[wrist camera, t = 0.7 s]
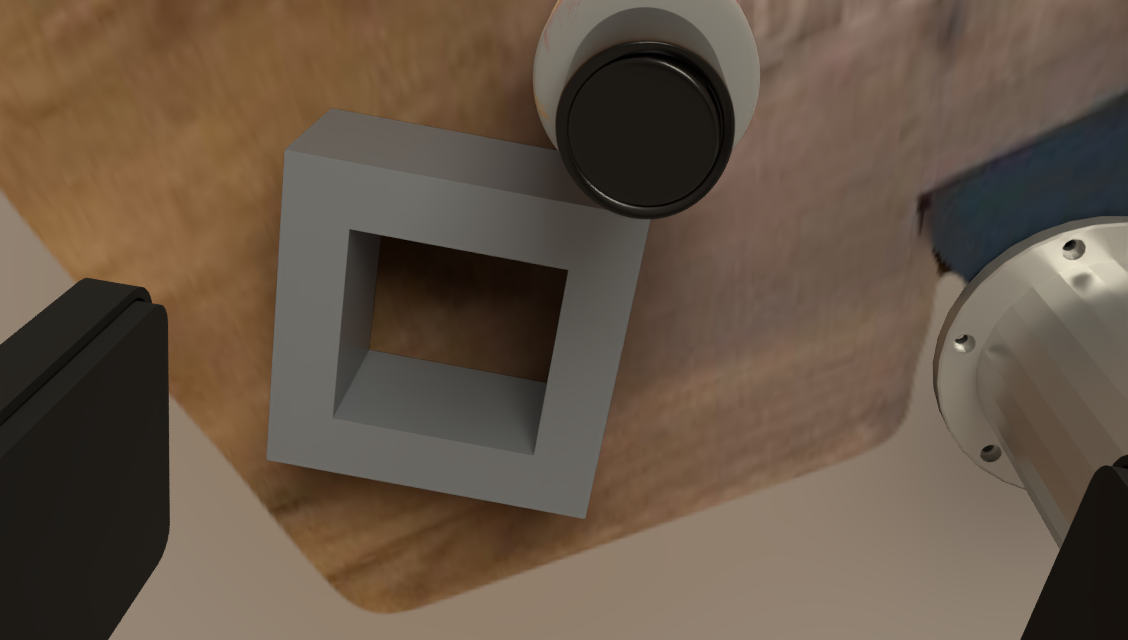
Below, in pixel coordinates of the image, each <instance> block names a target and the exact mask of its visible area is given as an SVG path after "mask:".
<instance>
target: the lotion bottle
mask: <svg viewBox="0 0 1128 640" xmlns="http://www.w3.org/2000/svg"><path fill="white" fill-rule="evenodd" d="M759 84H760V68H759V58H758V52H757V48H756V44H755V41H754V37H753V34H752V32H751V29H750V27H749V24H748V22H747V19H746V17H745V15H744V13H743V11H742V9H741V7H740V5H739V3H738V1H737V0H558V1H557V3H556V5H555V7H554V9H553V10H552V12H551V14H550V17H549V19H548V21H547V23H546V25H545V27H544V29H543V32H542V34H541V37H540V40H539V43H538V46H537V50H536V54H535V60H534V66H533V91H534V98H535V103H536V107H537V111H538V114H539V117H540V120H541V122H542V125H543V127H544V129H545V131H546V133H547V135H548V137H549V138H550V140H551V142H552V143H553V144H554V146H555V147H556V149H557V150H558V151H559V153H560V156H561V159H562V162H563V164H564V166H565V168H566V170H567V172H568V173H569V175H570V177H571V178H572V180H573V181H574V182H575V184H576V185H577V186H578V187H579V188H580V189H581V191H582V192H583V193H584V194H585V195H587V196H588V197H589V198H590V199H591V200H592V201H594V202H595V203H597V204H598V205H600V206H601V207H603V208H605V209H606V210H609V211H611V212H613V213H615V214H618V215H621V216H624V217H629V218H634V219H659V218H664V217H668V216H671V215H674V214H677V213H679V212H682V211H684V210H686V209H687V208H689V207H691V206H692V205H694V204H695V203H697V202H698V201H699V200H701V199H702V198H703V197H704V196H705V195H706V194H707V193H708V192H709V191H710V190H711V189H712V188H713V186H714V185H715V184H716V183H717V181H718V180H719V178H720V177H721V175H722V173H723V171H724V170H725V168H726V165H727V163H728V161H729V158H730V155H731V152H732V150H733V149H734V148H735V146H736V145H737V144H738V142H739V141H740V139H741V138H742V136H743V134H744V133H745V131H746V129H747V127H748V125H749V122H750V120H751V118H752V115H753V112H754V109H755V106H756V102H757V98H758V92H759Z"/></svg>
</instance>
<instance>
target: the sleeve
mask: <svg viewBox="0 0 1128 640" xmlns="http://www.w3.org/2000/svg"><path fill="white" fill-rule="evenodd" d="M650 220H651V219H634V218H629V217H624V216H621V215H618V214H615V213H613V212H611V211H609V210H606V209H605V208H603V207H601V206H600V205H598V204H597V203H595V202H594V201H592V200H591V199H590V198H589V197H588V196H587V195H585V194H584V193H583V192H582V191H581V189H580V188H579V187H578V186H577V185H576V184H575V182H574V181H573V180H572V178H571V177H570V175H569V173H568V172H567V170H566V168H565V166H564V164H563V162H562V159H561V156H560V153H559V151H557V150H551V149H546V148H541V147H535V146H530V145H525V144H519V143H514V142H509V141H503V140H498V139H493V138H487V137H482V136H477V135H471V134H466V133H461V132H455V131H450V130H445V129H439V128H434V127H429V126H423V125H418V124H413V123H407V122H402V121H397V120H391V119H386V118H381V117H375V116H370V115H365V114H359V113H354V112H349V111H343V110H338V109H333V108H331V109H330V110H329V111H328V112H327V113H325V114H324V115H323V116H322V117H321V118H320V119H319V120H318V121H316V122H315V123H314V124H313V125H312V126H311V127H310V128H309V129H307V130H306V131H305V132H304V133H303V134H302V135H301V136H300V137H298V138H297V139H296V140H295V141H294V142H293V143H292V144H291V145H289V146H288V147H287V148H286V149H285V155H284V172H283V189H282V206H281V223H280V240H279V257H278V274H277V291H276V308H275V325H274V342H273V359H272V376H271V393H270V410H269V427H268V444H267V460H270V461H275V462H281V463H286V464H292V465H297V466H302V467H308V468H313V469H319V470H324V471H329V472H335V473H340V474H345V475H351V476H356V477H362V478H367V479H372V480H378V481H383V482H389V483H394V484H399V485H405V486H410V487H416V488H421V489H426V490H432V491H437V492H443V493H448V494H453V495H459V496H464V497H470V498H475V499H480V500H486V501H491V502H497V503H502V504H507V505H513V506H518V507H524V508H529V509H534V510H540V511H545V512H550V513H556V514H561V515H567V516H572V517H577V518H583V519H585V518H586V513H587V508H588V504H589V499H590V495H591V490H592V486H593V481H594V476H595V472H596V467H597V463H598V458H599V454H600V449H601V444H602V440H603V435H604V431H605V426H606V422H607V417H608V412H609V408H610V403H611V399H612V394H613V390H614V385H615V380H616V376H617V371H618V367H619V362H620V358H621V353H622V348H623V344H624V339H625V335H626V330H627V326H628V321H629V316H630V312H631V307H632V303H633V298H634V294H635V289H636V284H637V280H638V275H639V271H640V266H641V262H642V257H643V252H644V248H645V243H646V239H647V234H648V230H649V225H650ZM381 235H384V236H389V237H394V238H400V239H405V240H410V241H416V242H421V243H426V244H432V245H437V246H442V247H448V248H453V249H458V250H464V251H469V252H475V253H480V254H485V255H491V256H496V257H501V258H507V259H512V260H517V261H523V262H528V263H533V264H539V265H544V266H549V267H555V268H560V269H566V270H568V274H567V279H566V285H565V290H564V295H563V301H562V306H561V311H560V317H559V322H558V327H557V333H556V338H555V343H554V349H553V354H552V359H551V365H550V370H549V376H548V381H547V383H544V382H539V381H534V380H528V379H523V378H518V377H512V376H507V375H501V374H496V373H491V372H485V371H480V370H475V369H469V368H464V367H459V366H453V365H448V364H442V363H437V362H432V361H426V360H421V359H416V358H410V357H405V356H399V355H394V354H389V353H383V352H378V351H373V350H369V347H370V337H371V328H372V318H373V308H374V298H375V289H376V279H377V269H378V259H379V250H380V240H381Z"/></svg>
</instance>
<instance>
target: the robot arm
mask: <svg viewBox="0 0 1128 640" xmlns="http://www.w3.org/2000/svg"><path fill="white" fill-rule="evenodd" d="M1070 240H1072V242H1071V244H1070V245H1069V246H1067V247H1063V246H1064V245H1065V244H1066V243H1067V242H1068V241H1070ZM961 335H964V337H963V338H961V339H956V338H957V337H959V336H961ZM933 384H934V391H935V395H936V399H937V403H938V407H939V411H940V413H941V415H942V417H943V419H944V421H945V423H946V425H947V428H948V430H949V432H950V433H951V434H952V436H953V438H954V439H955V440H956V442H957V443H958V445H959V446H960V448H961V449H962V451H963V452H964V453H965V454H966V455H967V456H968V457H969V458H970V459H971V460H972V461H973V462H974V463H975V464H976V465H978V466H979V467H980V468H982V469H983V470H985V471H987V472H988V473H990V474H992V475H993V476H995V477H997V478H998V479H1000V480H1001V481H1004V482H1006V483H1009V484H1012V485H1014V486H1017V487H1020V488H1022V489H1025V490H1027V492H1028V494H1029V496H1030V497H1031V499H1032V501H1033V502H1034V504H1035V506H1036V508H1037V510H1038V512H1039V513H1040V515H1041V517H1042V519H1043V520H1044V522H1045V524H1046V526H1047V527H1048V529H1049V531H1050V533H1051V535H1052V536H1053V538H1054V540H1055V541H1056V543H1057V545H1058V547H1059V548H1060V551H1059V553H1058V555H1057V558H1056V560H1055V562H1054V565H1053V567H1052V569H1051V572H1050V574H1049V576H1048V578H1047V580H1046V583H1045V585H1044V587H1043V590H1042V592H1041V594H1040V596H1039V599H1038V601H1037V603H1036V606H1035V608H1034V610H1033V612H1032V615H1031V617H1030V619H1029V621H1028V624H1027V626H1026V628H1025V631H1024V633H1023V635H1022V637H1021V640H1128V216H1100V217H1094V218H1088V219H1082V220H1076V221H1070V222H1067V223H1064V224H1061V225H1058V226H1055V227H1052V228H1049V229H1046V230H1044V231H1041V232H1038V233H1036V234H1034V235H1033V236H1031V237H1029V238H1027V239H1025V240H1023V241H1021V242H1019V243H1017V244H1015V245H1014V246H1012V247H1010V248H1009V249H1007V250H1006V251H1005V252H1003V253H1002V254H1001V255H999V256H998V257H997V258H995V259H994V260H993V261H991V262H990V263H989V264H987V265H986V266H985V267H984V268H983V269H982V270H981V271H980V272H979V273H978V274H977V275H976V276H975V277H974V279H973V280H972V281H971V282H970V283H969V284H968V285H967V286H966V287H965V288H964V289H963V291H962V293H961V294H960V296H959V297H958V299H957V300H956V302H955V303H954V305H953V306H952V308H951V309H950V311H949V312H948V315H947V317H946V319H945V322H944V324H943V326H942V329H941V331H940V334H939V336H938V339H937V345H936V350H935V355H934V360H933ZM169 501H170V500H169V387H168V318H167V312H166V309H165V308H164V307H163V305H159V304H153V303H152V300H151V297H150V294H149V292H148V291H147V290H146V289H145V288H144V287H138V286H132V285H126V284H120V283H114V282H108V281H102V280H97V279H91V278H84V279H82V280H80V281H79V282H78V283H76V284H75V285H74V286H73V287H72V288H70V289H69V290H68V291H66V292H65V293H64V294H63V295H61V296H60V297H59V298H58V299H56V300H55V301H54V302H53V303H51V304H50V305H49V306H48V307H47V308H45V309H44V310H43V311H42V312H40V313H39V314H38V315H37V316H35V317H34V318H33V319H32V320H30V321H29V322H28V323H27V324H25V325H24V326H23V327H22V328H20V329H19V330H18V331H17V332H16V333H14V334H13V335H12V336H11V337H9V338H8V339H7V340H6V341H4V342H3V343H2V344H1V345H0V640H108V639H109V637H110V636H111V634H112V633H113V631H114V630H115V628H116V627H117V625H118V624H119V622H120V621H121V619H122V617H123V616H124V615H125V613H126V612H127V610H128V609H129V607H130V606H131V604H132V602H133V601H134V600H135V598H136V597H137V595H138V593H139V592H140V590H141V589H142V587H143V586H144V584H145V583H146V581H147V580H148V578H149V577H150V575H151V574H152V572H153V571H154V569H155V568H156V566H157V565H158V563H159V561H160V559H161V558H162V555H163V553H164V550H165V547H166V544H167V540H168V535H169V526H170V510H169V509H170V508H169V507H170V503H169Z"/></svg>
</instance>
